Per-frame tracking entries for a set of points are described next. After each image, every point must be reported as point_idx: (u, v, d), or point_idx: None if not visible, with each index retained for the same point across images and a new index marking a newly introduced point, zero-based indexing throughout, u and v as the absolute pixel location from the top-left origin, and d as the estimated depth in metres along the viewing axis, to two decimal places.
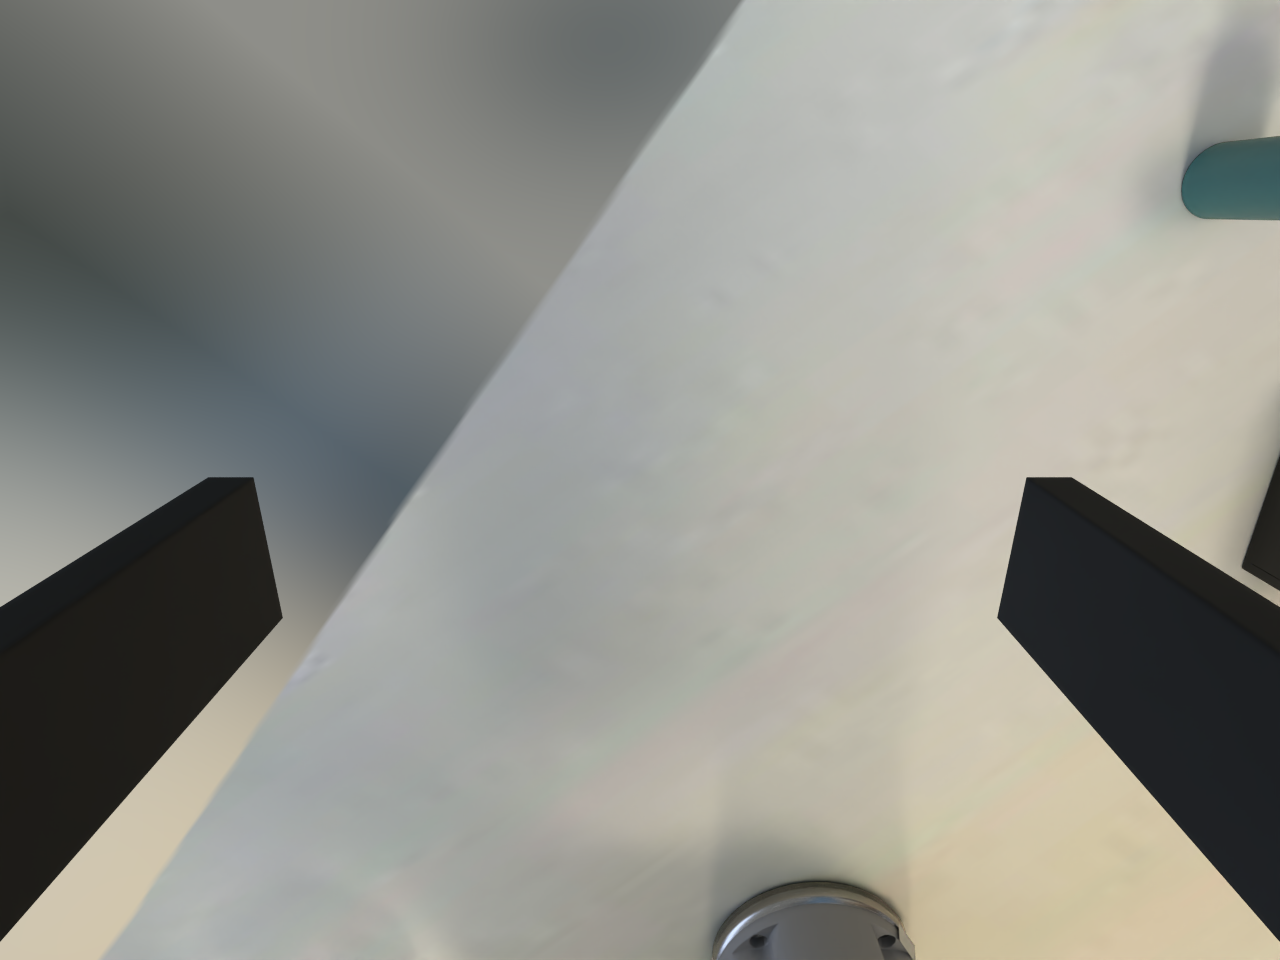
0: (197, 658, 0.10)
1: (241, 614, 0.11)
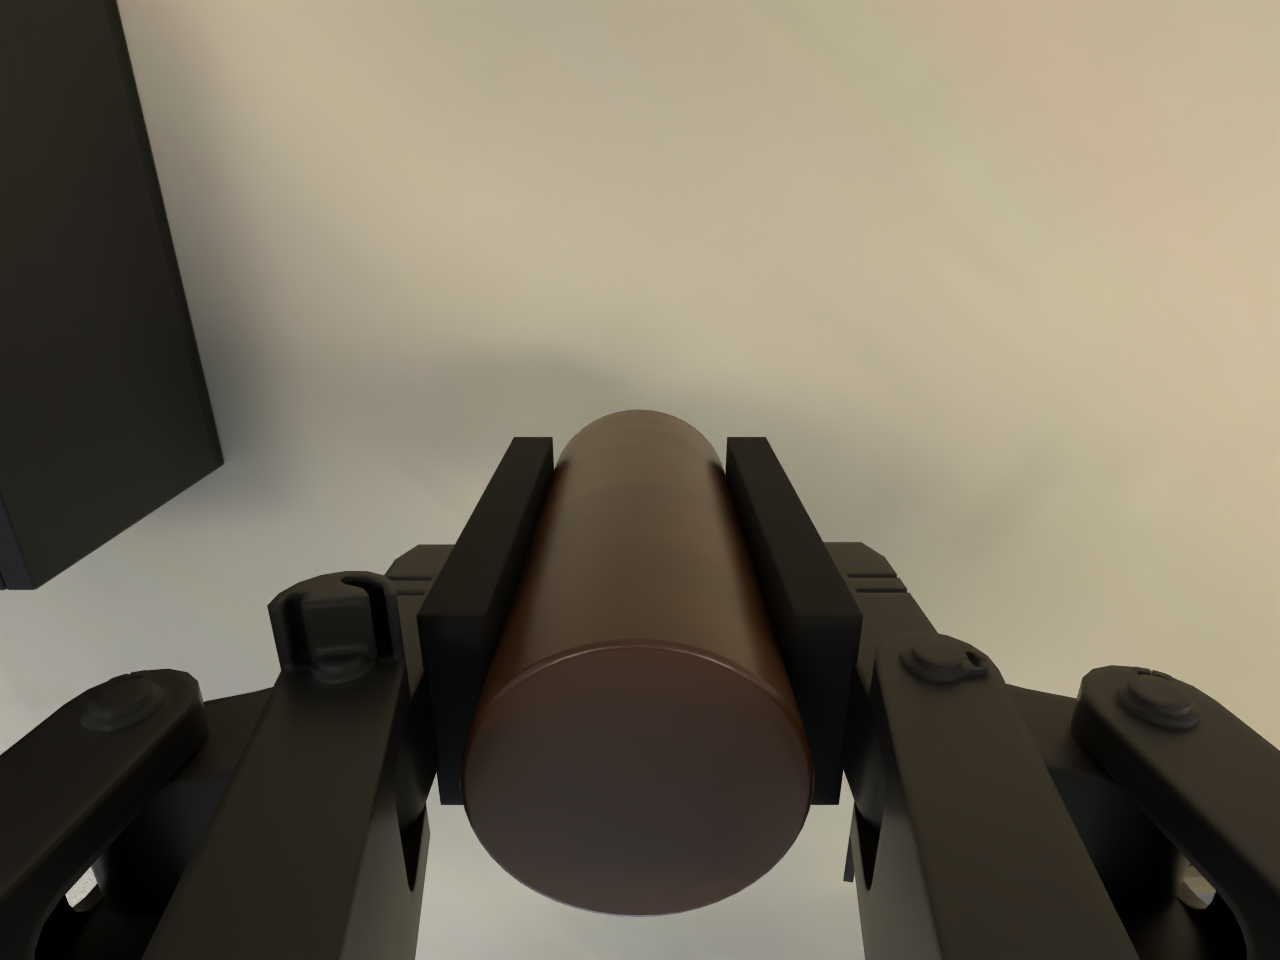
0: None
1: None
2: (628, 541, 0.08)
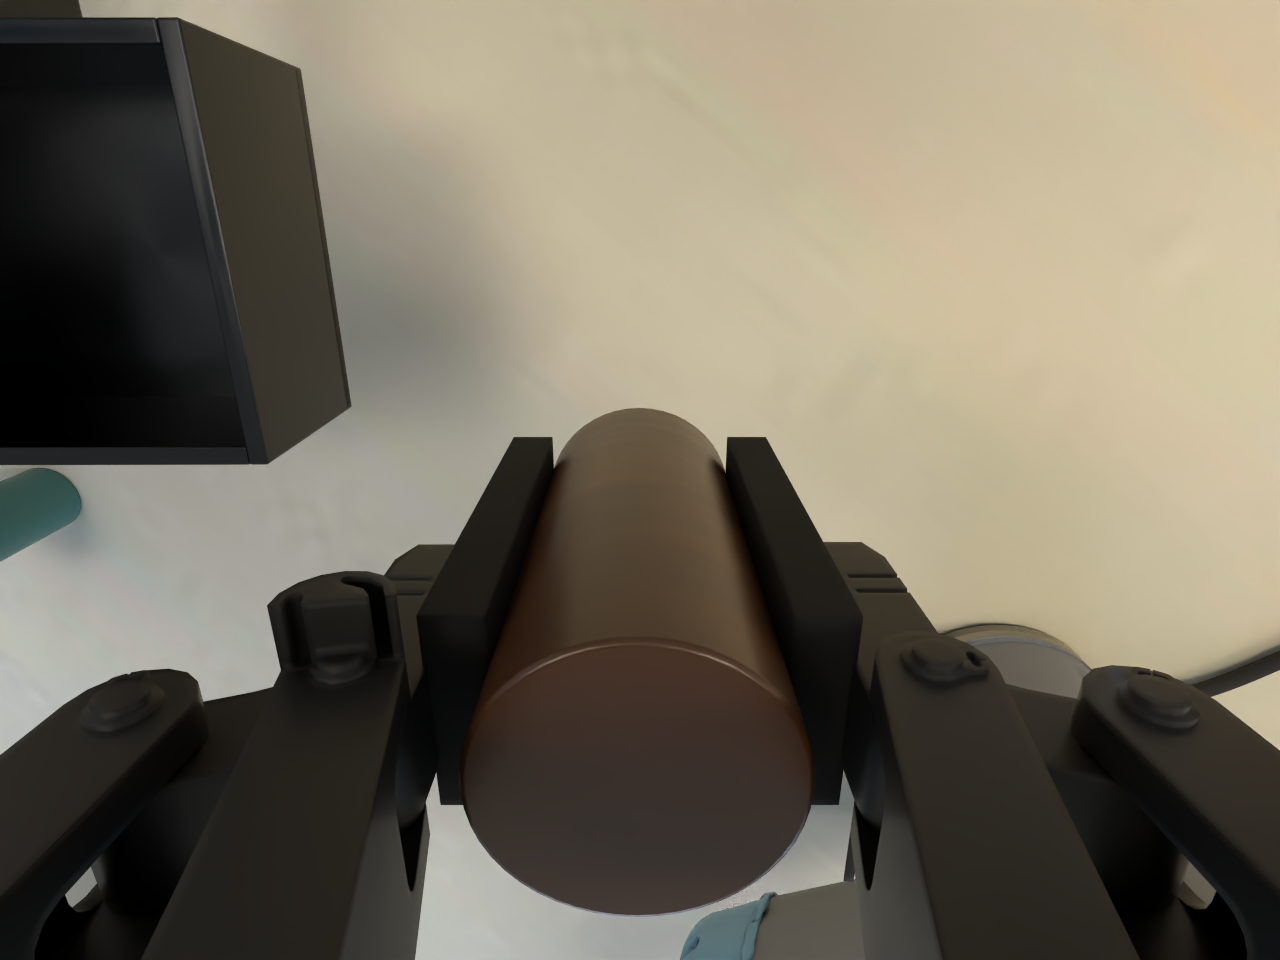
0: None
1: None
2: (629, 538, 0.08)
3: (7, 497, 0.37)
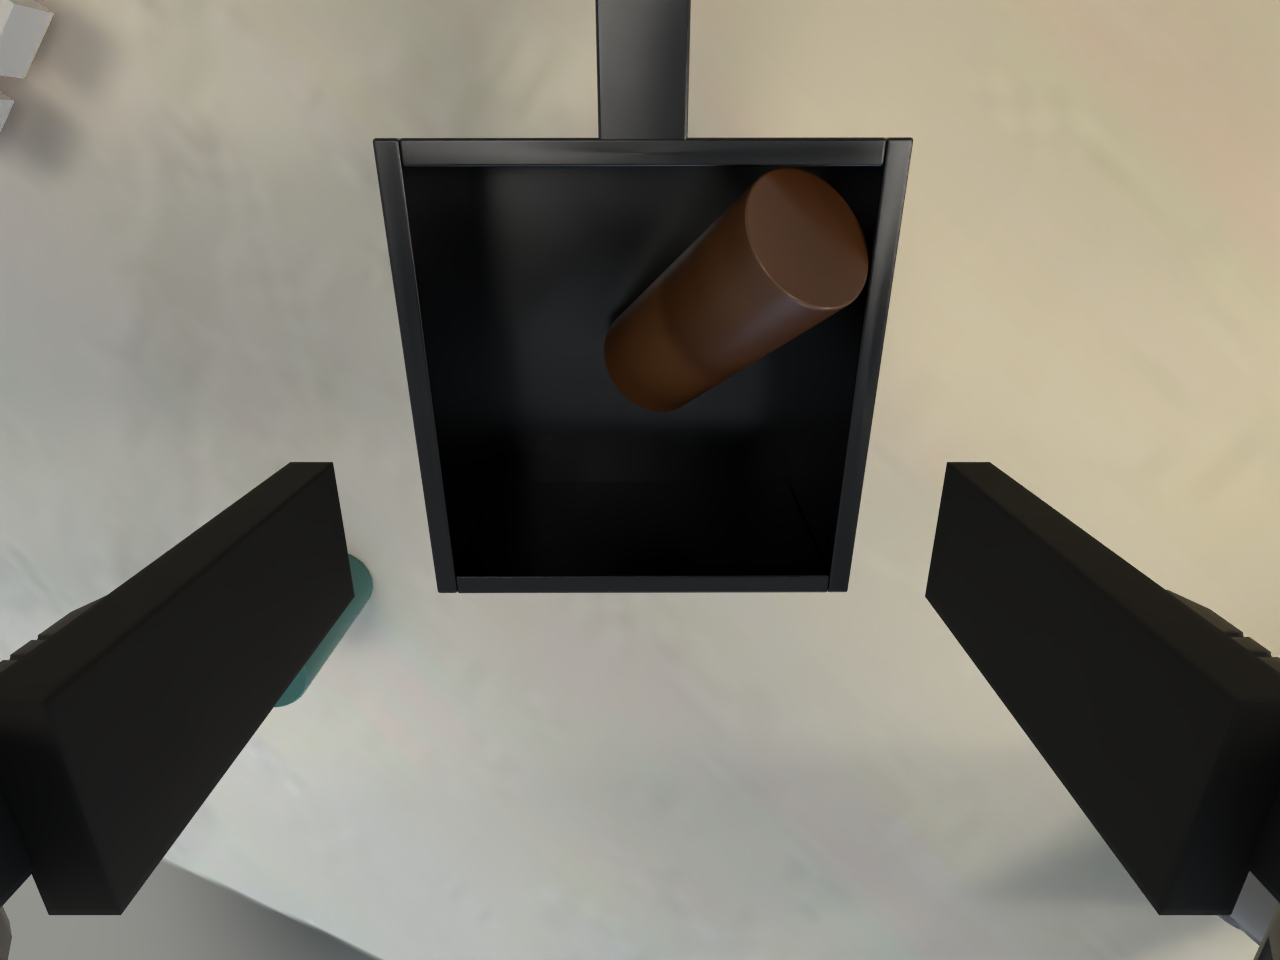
0: (291, 629, 0.11)
1: (324, 590, 0.12)
2: None
3: None
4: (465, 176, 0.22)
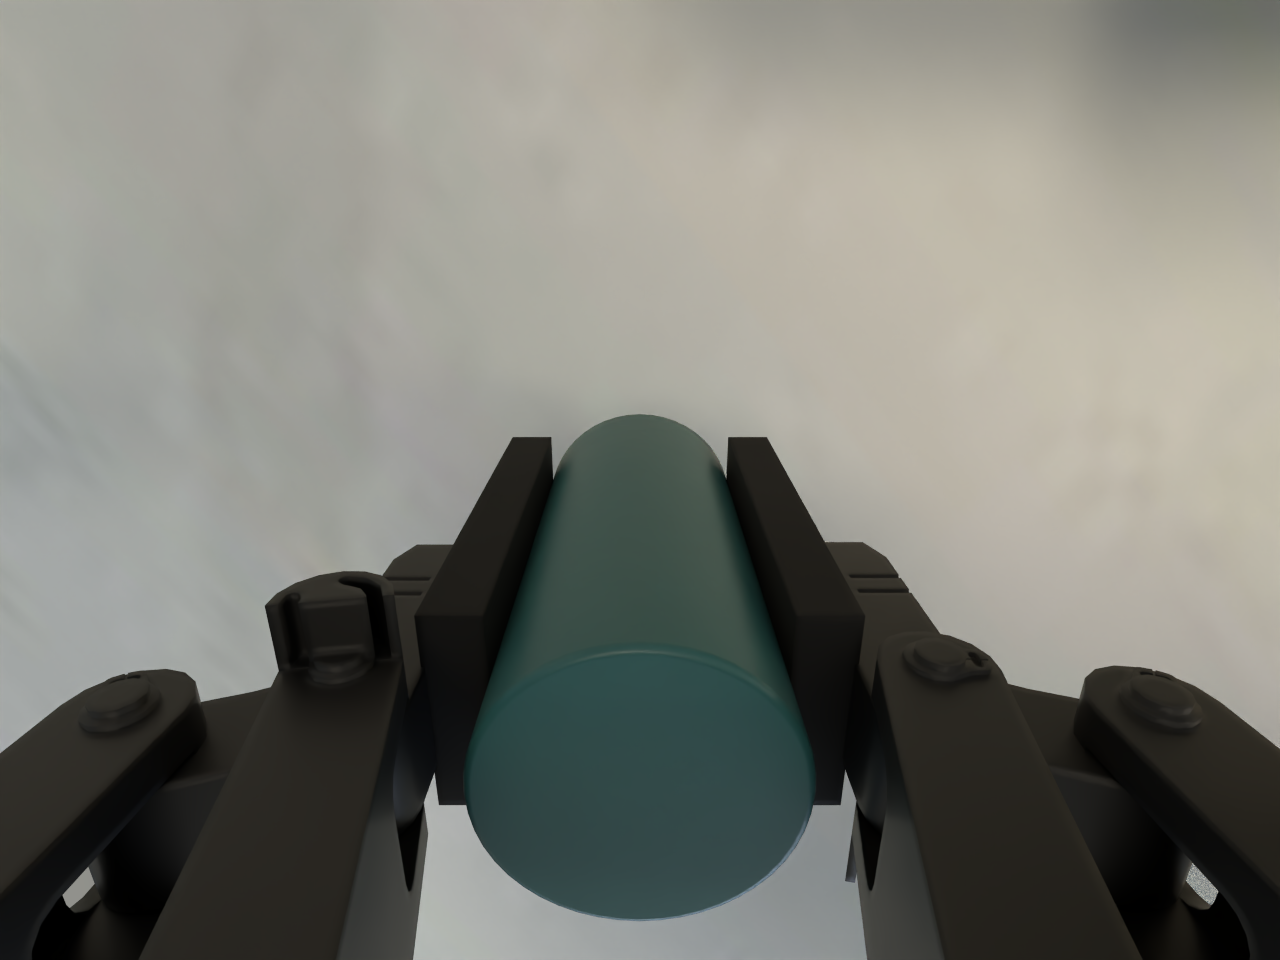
0: None
1: None
2: None
3: (710, 499, 0.11)
4: None
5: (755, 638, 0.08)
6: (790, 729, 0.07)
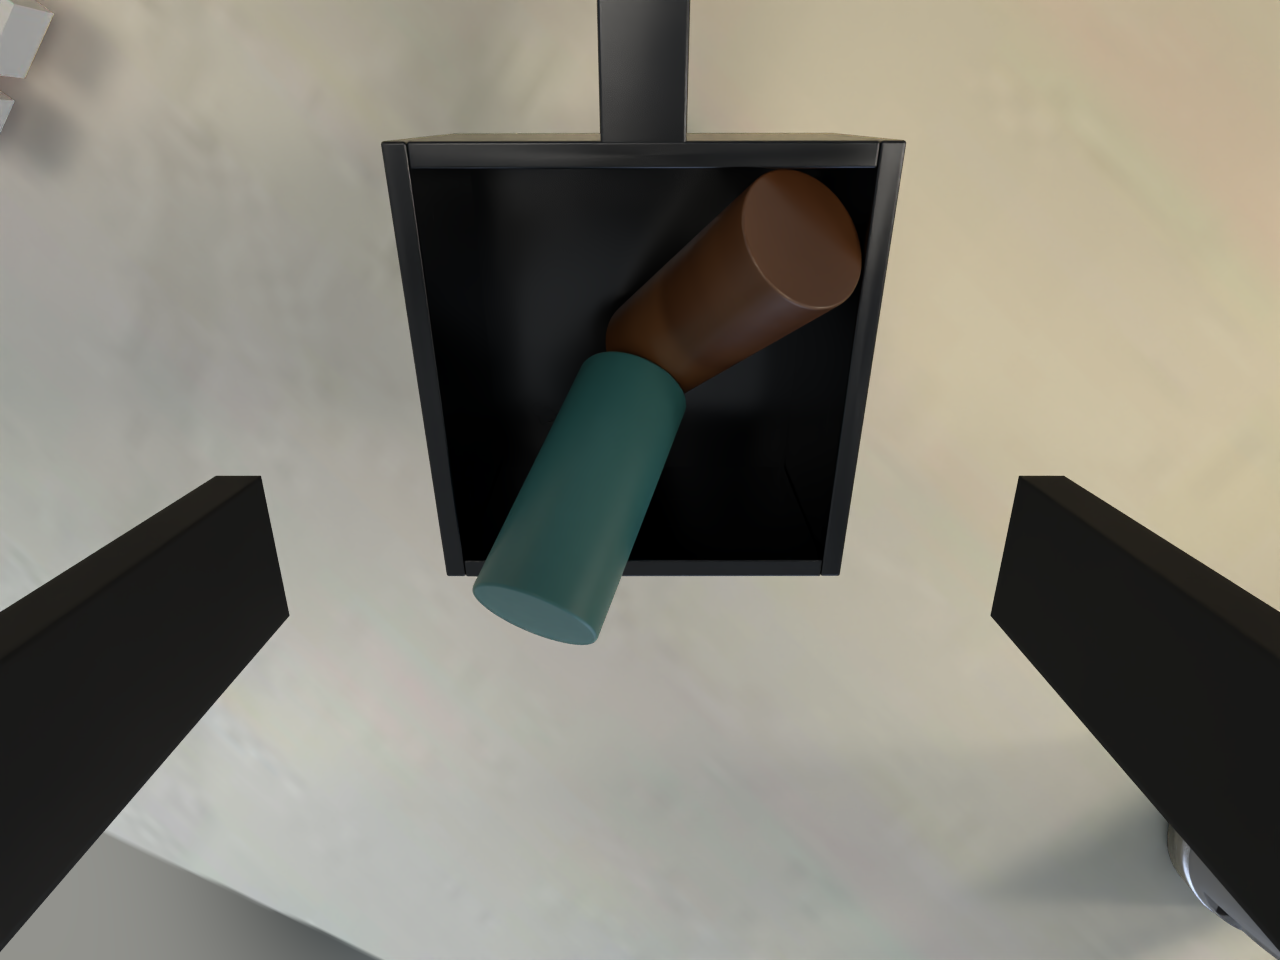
0: (206, 655, 0.10)
1: (249, 611, 0.12)
2: None
3: (623, 465, 0.20)
4: (469, 169, 0.23)
5: (584, 581, 0.18)
6: (581, 622, 0.18)
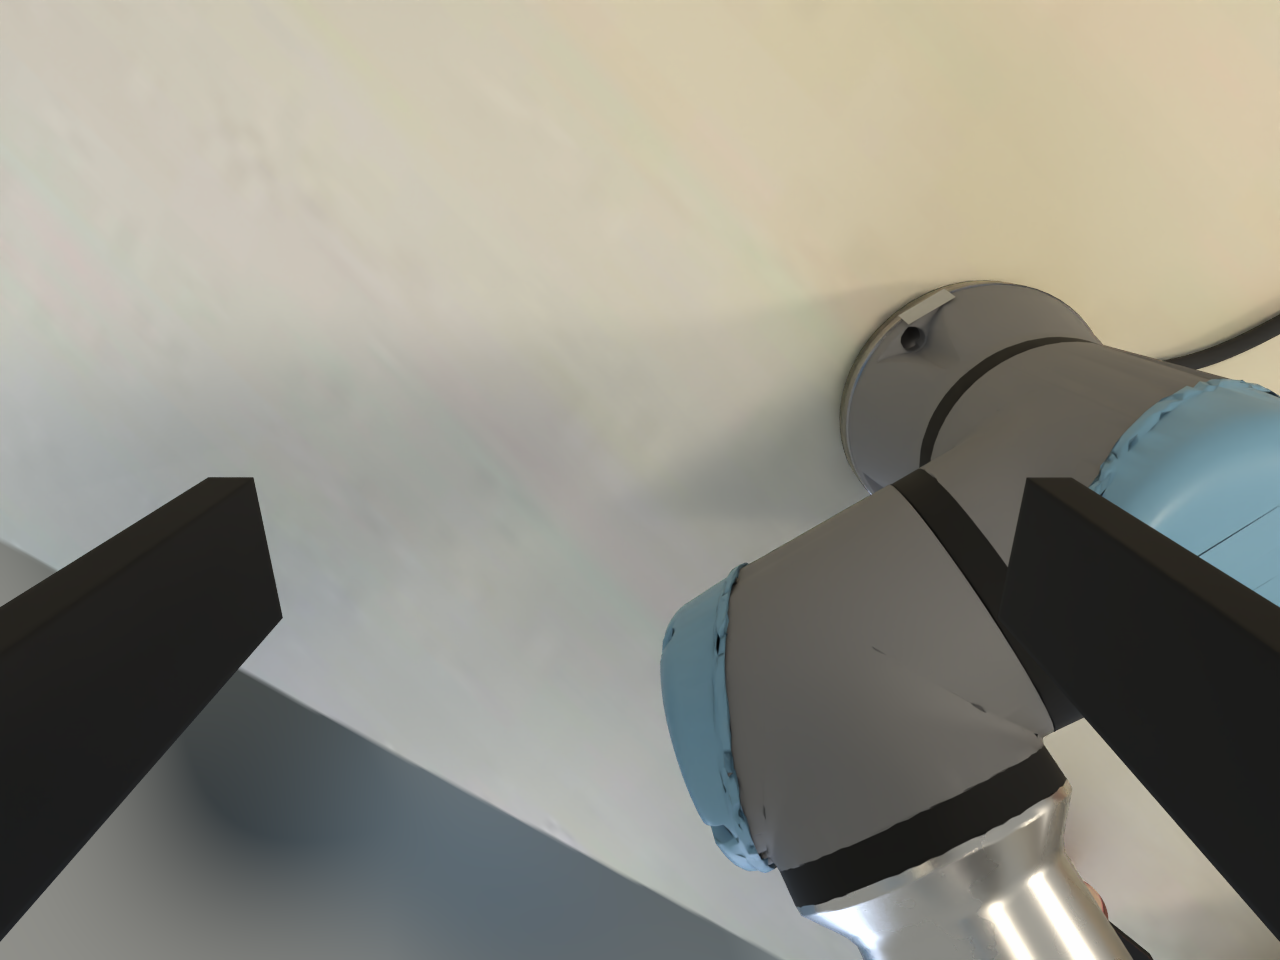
0: (198, 658, 0.10)
1: (241, 614, 0.11)
2: None
3: None
4: None
5: None
6: None
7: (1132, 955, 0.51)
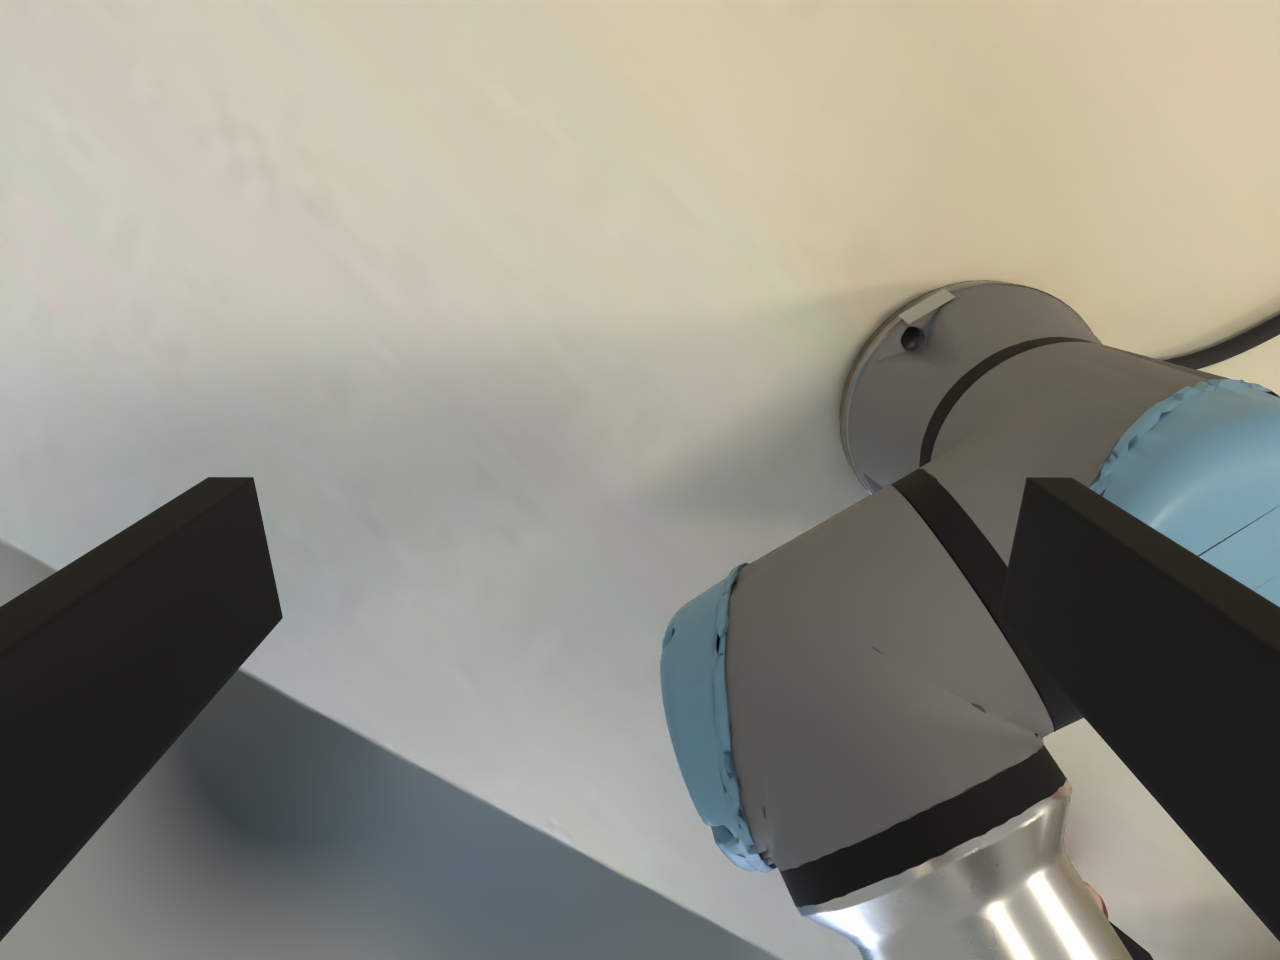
0: (198, 658, 0.10)
1: (241, 614, 0.11)
2: None
3: None
4: None
5: None
6: None
7: (1132, 955, 0.51)
